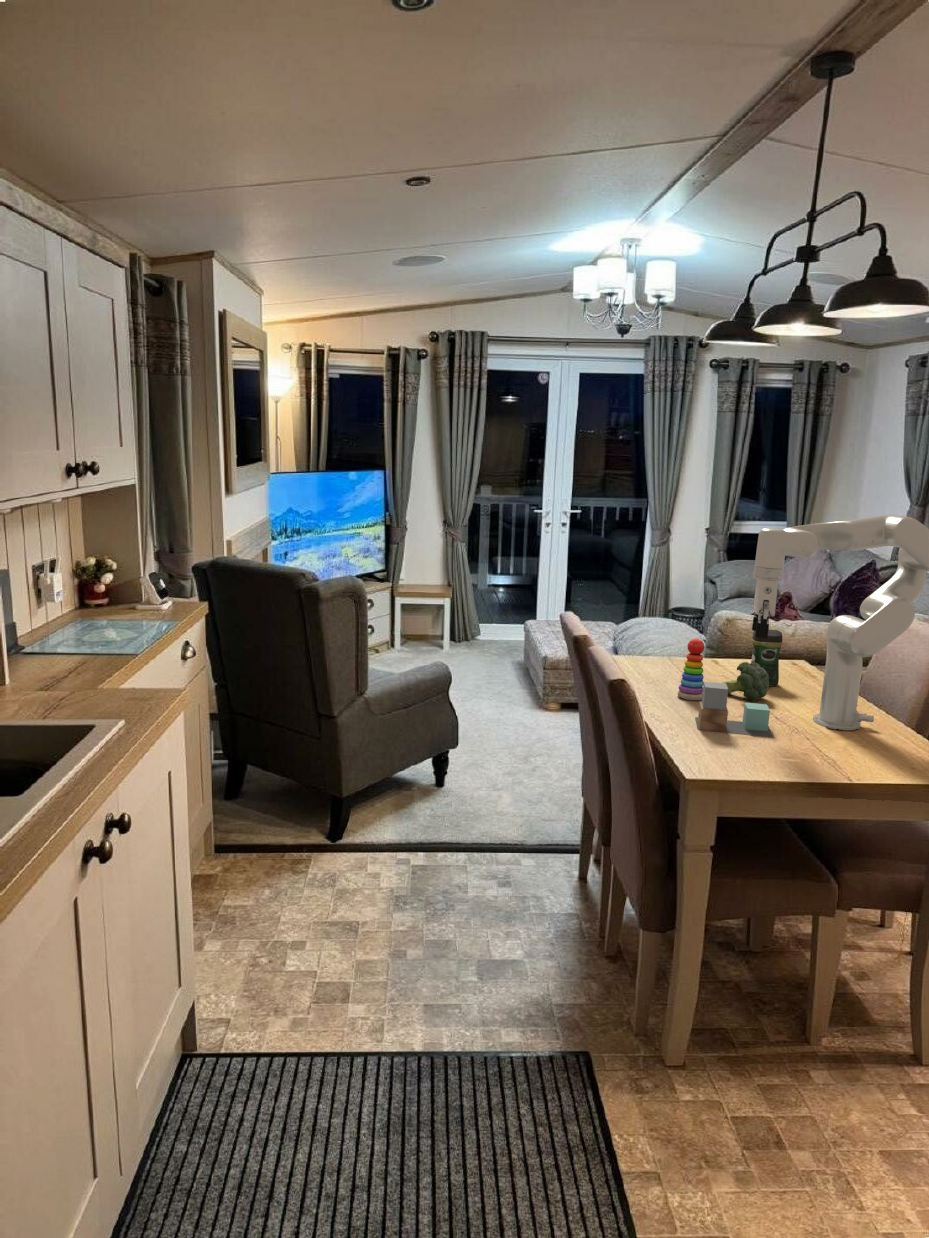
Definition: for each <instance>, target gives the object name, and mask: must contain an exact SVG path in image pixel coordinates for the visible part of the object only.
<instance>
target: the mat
mask: <svg viewBox="0 0 929 1238" xmlns="http://www.w3.org/2000/svg"><path fill="white" fill-rule="evenodd" d="M694 718H695V719H694V720H695V724H696V729H697V731H700V732H702V731H703V732H708V731H707V730H699V725H698V717H696V716H695V717H694ZM742 722H743V721H740V720H739V721H737V720H728V719H727V727H726V732H719V733H721V734H732V735H740V736H741V735H743V736H752V737H762V738H771V739H772V738H774V739H775V736H774V733H772V731H771V729H770V726H769V725H768V732H767V731H757V730H747V729H745V728H744V726H743V723H742ZM709 732H711V733H718V732H717V731H709Z"/></svg>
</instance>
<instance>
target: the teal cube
mask: <svg viewBox="0 0 929 1238" xmlns="http://www.w3.org/2000/svg"><path fill="white" fill-rule="evenodd" d="M742 714H743V715H742V721H741V722H742V723H743V726H744V728H745V729H747V730H757V731H767V732H768V726H769V723H770V722H769V721H770V714H771V710H770V708H769V706H768V704H766V703H757V702H756V703H755V702H744V705H743V713H742Z"/></svg>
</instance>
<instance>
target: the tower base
mask: <svg viewBox="0 0 929 1238" xmlns="http://www.w3.org/2000/svg"><path fill="white" fill-rule="evenodd" d="M728 717H729V710H728V707H727V706H726V710H715V709H704V708H703V705H702V701H699V707H698V725H699V730H698V731H700V730H707V731H706V732H710V731H717V732H716V733H720V732H726V727H727V720H728Z"/></svg>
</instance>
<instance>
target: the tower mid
mask: <svg viewBox="0 0 929 1238" xmlns="http://www.w3.org/2000/svg"><path fill="white" fill-rule="evenodd" d="M703 682H704V685H703V686H702V687H703V692H702V693H703V695H702V699H701V702H702V705H703V708H704V709H715V710H726V707H727V706H728V705H727V704H728V696H729V694H728V687H727V685H726V684H725V683H722V682H711V681H703Z"/></svg>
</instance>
